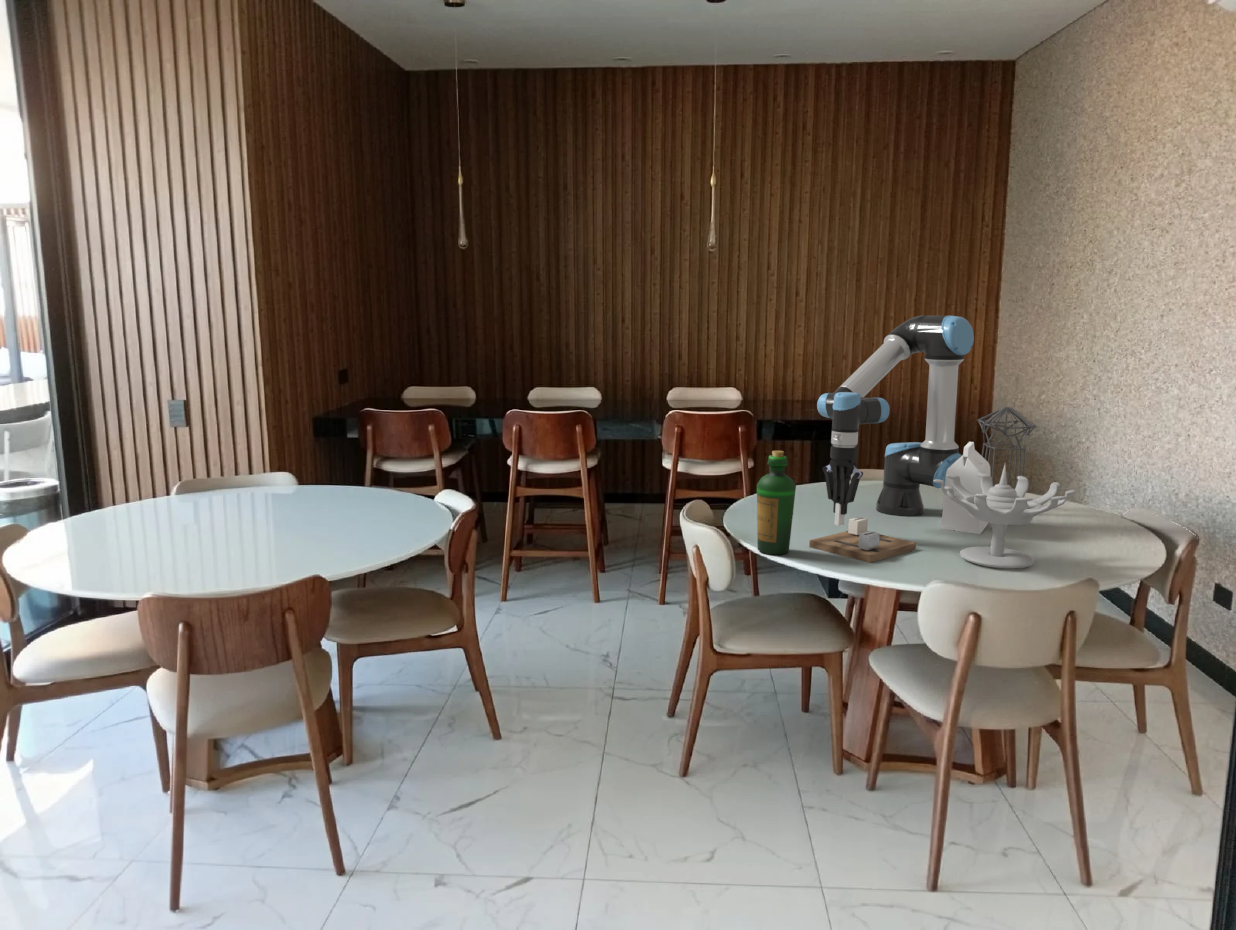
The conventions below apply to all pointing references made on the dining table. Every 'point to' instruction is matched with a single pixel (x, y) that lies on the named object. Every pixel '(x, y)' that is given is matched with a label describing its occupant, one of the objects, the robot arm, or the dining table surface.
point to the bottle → (775, 507)
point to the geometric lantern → (1001, 412)
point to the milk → (967, 471)
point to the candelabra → (1001, 515)
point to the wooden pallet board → (850, 548)
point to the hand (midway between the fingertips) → (839, 524)
